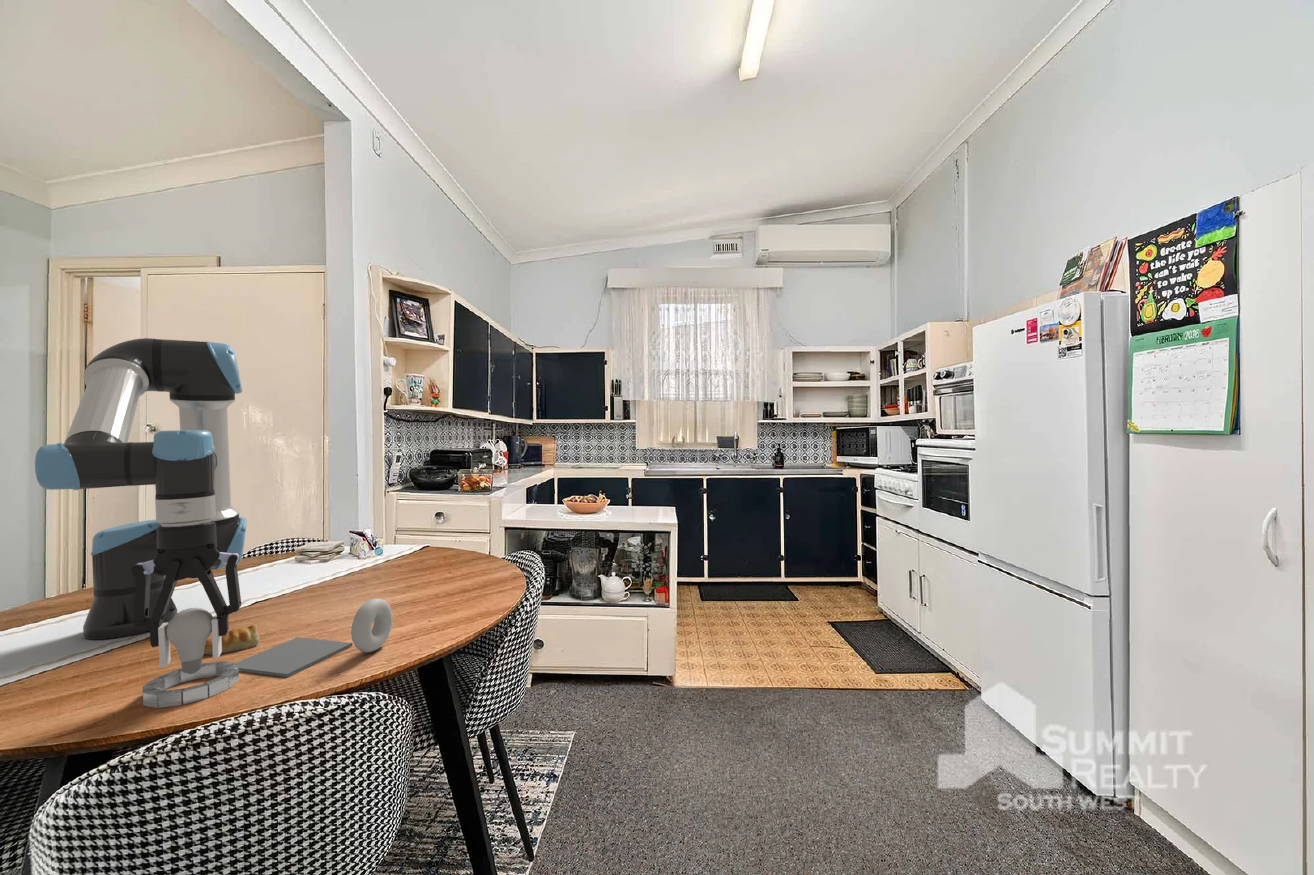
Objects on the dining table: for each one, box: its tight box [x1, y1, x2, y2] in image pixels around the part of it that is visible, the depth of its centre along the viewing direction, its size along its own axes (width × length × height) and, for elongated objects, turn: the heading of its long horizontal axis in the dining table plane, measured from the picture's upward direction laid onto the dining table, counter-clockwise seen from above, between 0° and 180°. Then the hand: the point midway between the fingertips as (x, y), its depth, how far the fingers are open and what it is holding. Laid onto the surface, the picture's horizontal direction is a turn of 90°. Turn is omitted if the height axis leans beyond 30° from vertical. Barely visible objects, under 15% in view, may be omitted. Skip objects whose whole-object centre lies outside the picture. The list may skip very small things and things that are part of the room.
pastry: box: [204, 624, 260, 655], centre depth 108 cm, size 9×7×4 cm
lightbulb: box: [166, 607, 214, 674], centre depth 90 cm, size 6×6×11 cm
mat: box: [235, 636, 354, 678], centre depth 102 cm, size 14×14×1 cm
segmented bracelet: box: [142, 660, 240, 709], centre depth 90 cm, size 12×12×2 cm
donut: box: [350, 597, 393, 654], centre depth 104 cm, size 10×4×10 cm, turn 173°
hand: (191, 659), depth 90 cm, fingers closed on lightbulb, 6 cm apart
